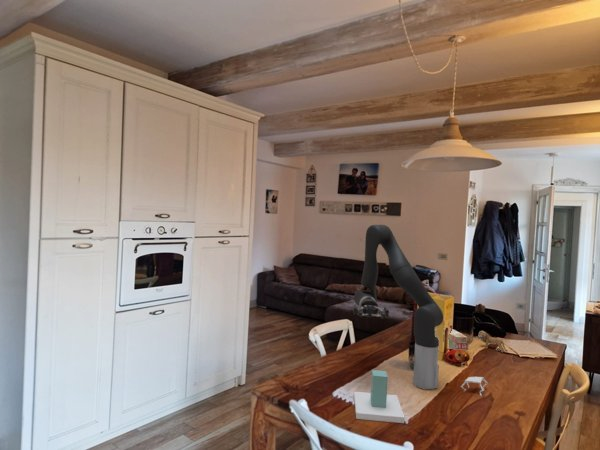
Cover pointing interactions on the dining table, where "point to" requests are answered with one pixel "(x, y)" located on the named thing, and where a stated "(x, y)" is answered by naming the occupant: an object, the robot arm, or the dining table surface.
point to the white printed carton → (457, 341)
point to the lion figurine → (491, 340)
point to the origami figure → (475, 380)
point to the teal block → (379, 388)
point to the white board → (378, 409)
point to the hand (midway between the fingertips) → (372, 315)
